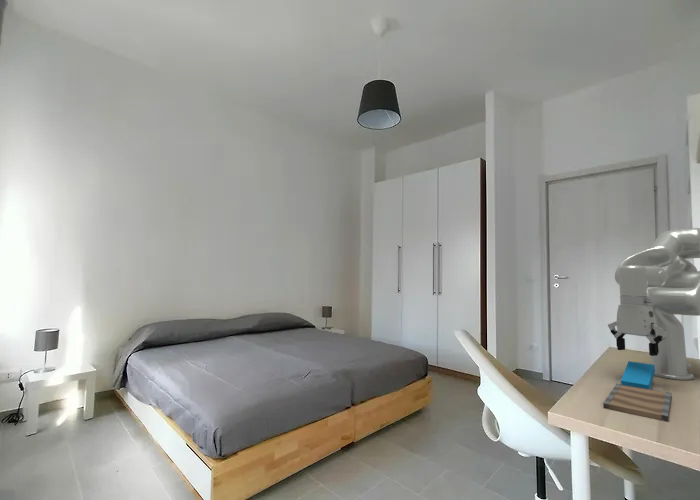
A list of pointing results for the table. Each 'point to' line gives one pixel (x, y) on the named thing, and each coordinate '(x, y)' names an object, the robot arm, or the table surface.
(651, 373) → the lever
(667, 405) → the ribbed board
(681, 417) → the table surface
